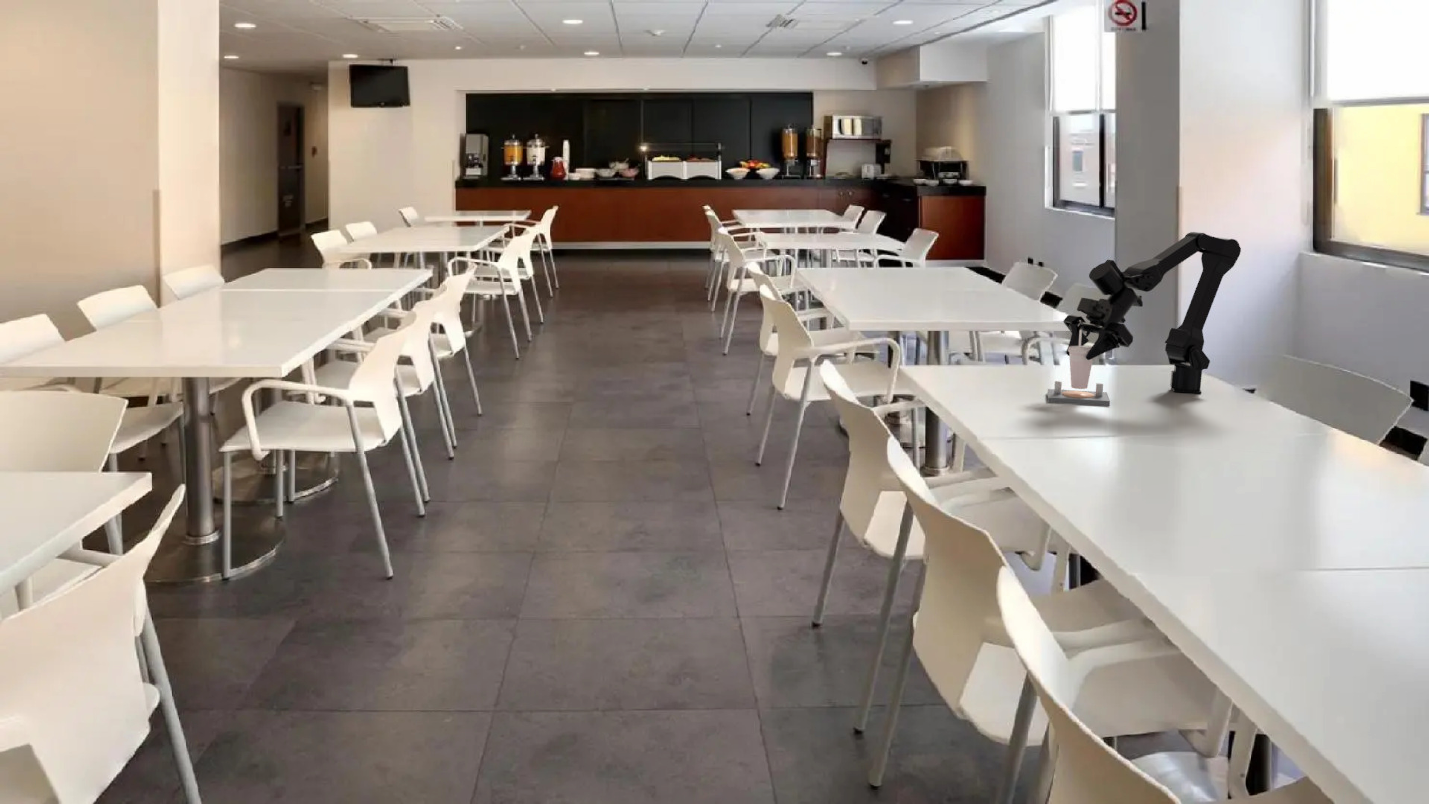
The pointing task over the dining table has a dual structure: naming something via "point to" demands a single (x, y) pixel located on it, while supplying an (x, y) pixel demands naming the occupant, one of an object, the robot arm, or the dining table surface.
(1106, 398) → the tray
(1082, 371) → the smoothie
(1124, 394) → the dining table surface
